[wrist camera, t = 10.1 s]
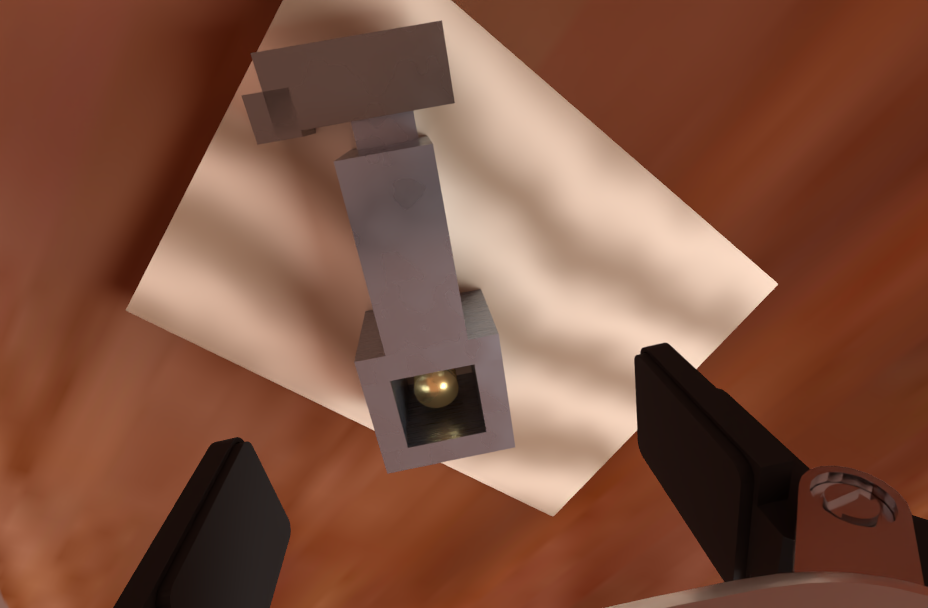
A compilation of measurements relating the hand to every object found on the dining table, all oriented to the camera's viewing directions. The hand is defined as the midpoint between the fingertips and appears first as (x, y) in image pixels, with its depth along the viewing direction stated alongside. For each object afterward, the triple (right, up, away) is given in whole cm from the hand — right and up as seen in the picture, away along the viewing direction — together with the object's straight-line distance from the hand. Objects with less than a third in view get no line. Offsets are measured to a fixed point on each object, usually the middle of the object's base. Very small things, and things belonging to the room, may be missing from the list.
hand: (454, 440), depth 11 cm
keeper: (-5, +15, +13) cm, 21 cm away
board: (+1, +5, +18) cm, 19 cm away
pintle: (-2, +1, +20) cm, 20 cm away
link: (-3, +6, +15) cm, 17 cm away
